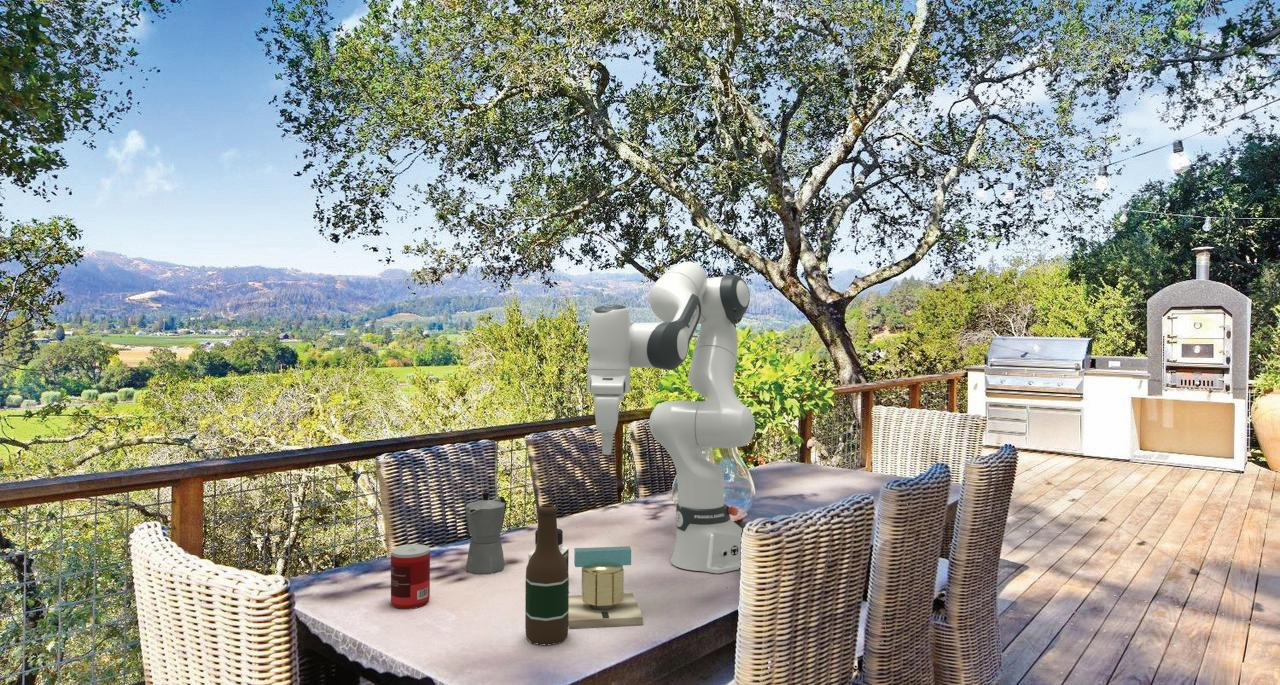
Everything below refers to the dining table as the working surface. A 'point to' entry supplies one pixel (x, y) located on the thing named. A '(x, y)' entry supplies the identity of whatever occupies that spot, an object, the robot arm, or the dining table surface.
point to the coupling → (602, 573)
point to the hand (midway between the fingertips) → (607, 451)
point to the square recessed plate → (604, 613)
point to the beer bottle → (547, 584)
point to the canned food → (410, 576)
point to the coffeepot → (485, 535)
